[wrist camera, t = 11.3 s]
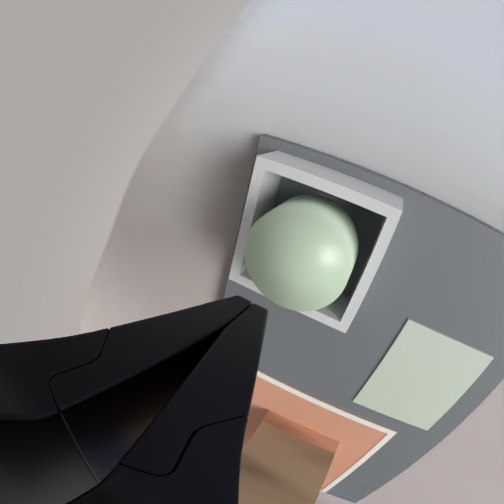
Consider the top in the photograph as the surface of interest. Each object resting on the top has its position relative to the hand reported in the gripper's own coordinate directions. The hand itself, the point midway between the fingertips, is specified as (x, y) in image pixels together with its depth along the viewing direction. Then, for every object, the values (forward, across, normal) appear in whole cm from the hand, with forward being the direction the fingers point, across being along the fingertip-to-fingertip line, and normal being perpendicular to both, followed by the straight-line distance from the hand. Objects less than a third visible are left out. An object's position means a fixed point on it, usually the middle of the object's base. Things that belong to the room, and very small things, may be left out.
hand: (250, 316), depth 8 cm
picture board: (+7, -4, +8) cm, 12 cm away
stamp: (+6, -4, +14) cm, 16 cm away
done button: (+5, 0, 0) cm, 5 cm away
